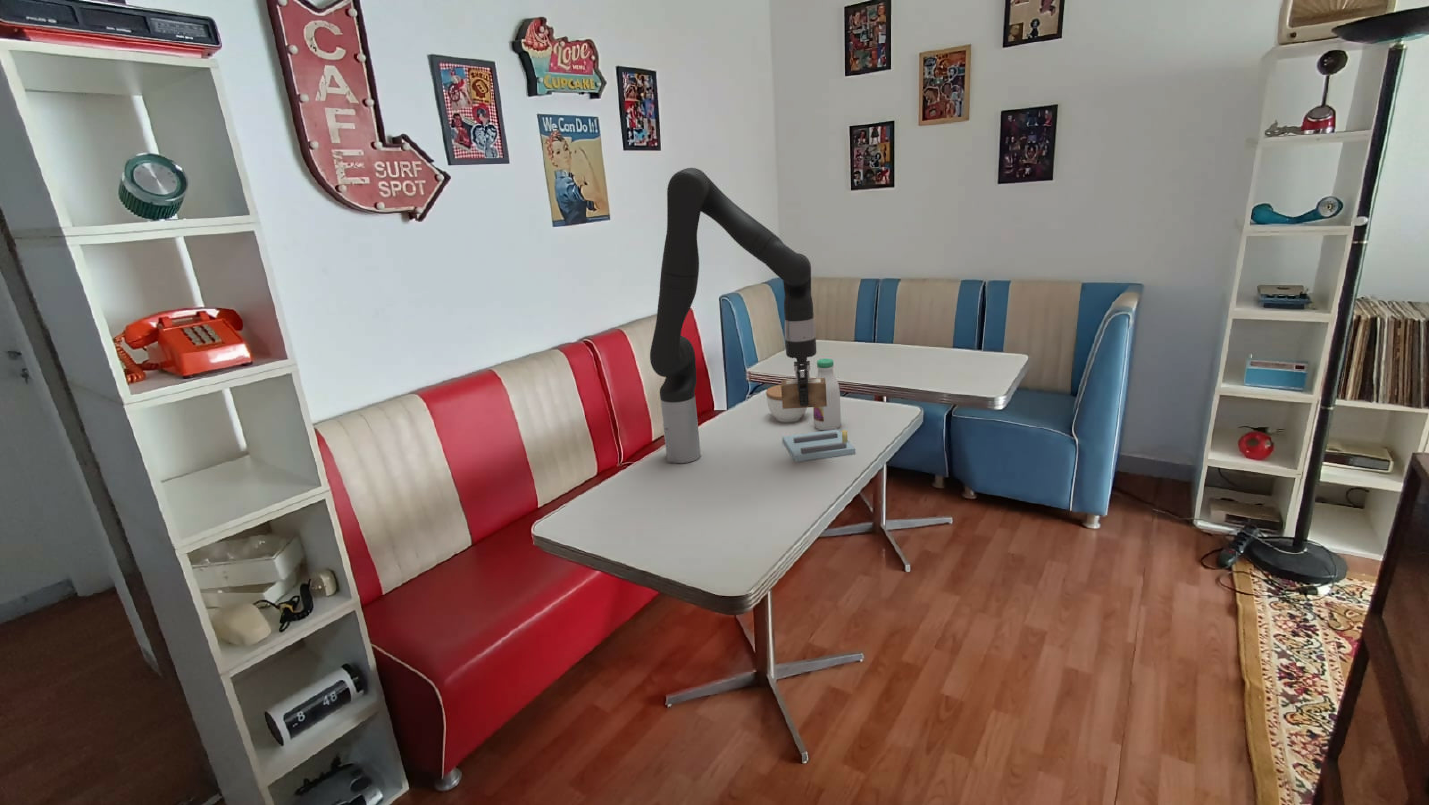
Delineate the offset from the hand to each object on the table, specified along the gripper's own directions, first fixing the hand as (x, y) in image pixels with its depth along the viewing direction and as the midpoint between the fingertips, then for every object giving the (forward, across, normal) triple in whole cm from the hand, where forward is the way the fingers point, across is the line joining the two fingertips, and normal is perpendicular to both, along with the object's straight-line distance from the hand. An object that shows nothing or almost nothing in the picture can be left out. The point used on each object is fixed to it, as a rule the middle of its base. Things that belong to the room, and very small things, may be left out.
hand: (804, 401), depth 176 cm
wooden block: (+1, 0, 0) cm, 1 cm away
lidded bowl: (+16, +32, +5) cm, 36 cm away
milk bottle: (+16, +24, -6) cm, 29 cm away
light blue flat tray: (+16, +8, -3) cm, 18 cm away
